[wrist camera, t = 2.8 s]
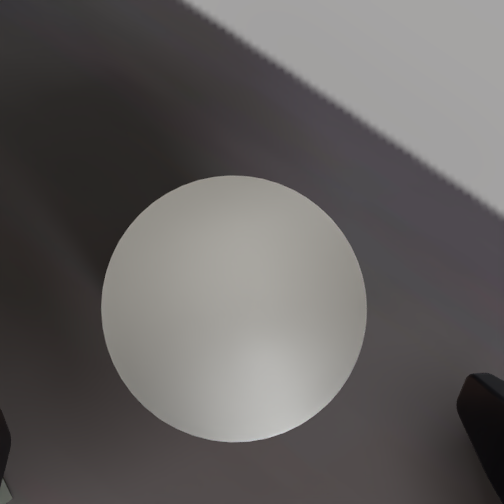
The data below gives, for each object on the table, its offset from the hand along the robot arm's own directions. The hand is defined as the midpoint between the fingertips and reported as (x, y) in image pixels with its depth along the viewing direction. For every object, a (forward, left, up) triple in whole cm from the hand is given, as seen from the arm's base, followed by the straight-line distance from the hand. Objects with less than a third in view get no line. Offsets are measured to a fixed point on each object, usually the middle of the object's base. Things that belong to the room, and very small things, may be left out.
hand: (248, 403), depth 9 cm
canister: (+2, +1, -11) cm, 11 cm away
